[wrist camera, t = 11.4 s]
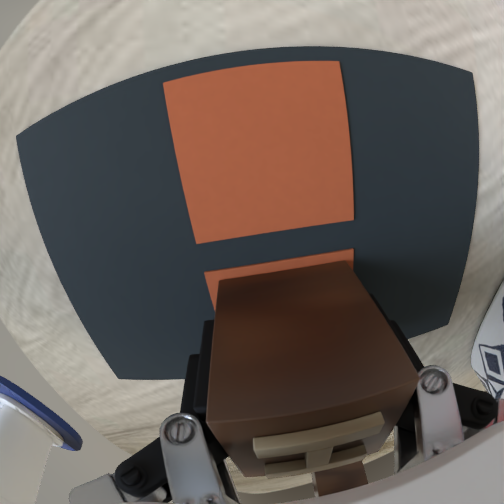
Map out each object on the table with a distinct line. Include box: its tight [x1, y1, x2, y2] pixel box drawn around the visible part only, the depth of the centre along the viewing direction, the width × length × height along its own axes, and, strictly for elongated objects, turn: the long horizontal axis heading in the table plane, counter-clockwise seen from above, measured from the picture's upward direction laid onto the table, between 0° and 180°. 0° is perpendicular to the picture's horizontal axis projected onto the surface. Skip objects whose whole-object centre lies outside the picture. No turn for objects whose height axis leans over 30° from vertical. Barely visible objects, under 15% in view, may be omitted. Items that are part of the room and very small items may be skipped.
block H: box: [206, 260, 420, 479], centre depth 8 cm, size 5×5×6 cm
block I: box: [311, 460, 368, 497], centre depth 19 cm, size 5×5×6 cm
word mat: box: [16, 46, 479, 380], centre depth 10 cm, size 20×14×1 cm
